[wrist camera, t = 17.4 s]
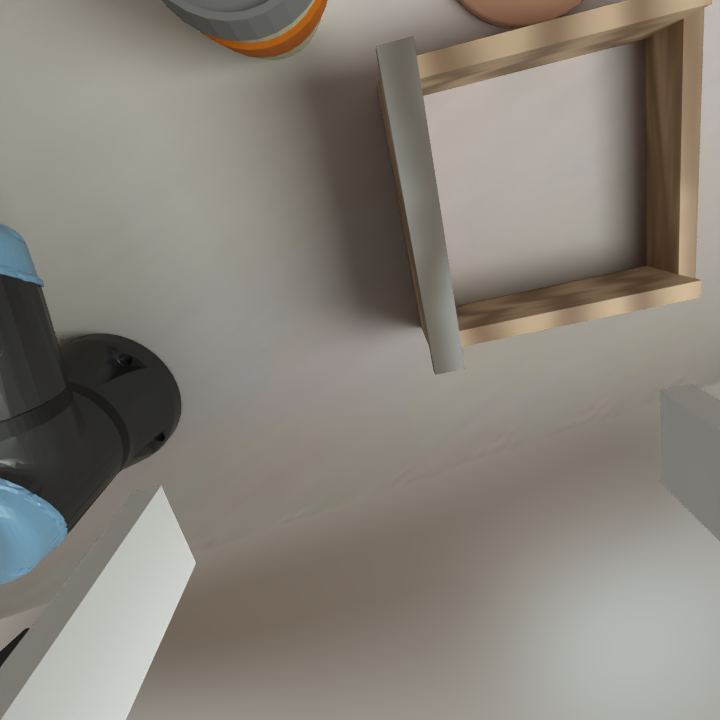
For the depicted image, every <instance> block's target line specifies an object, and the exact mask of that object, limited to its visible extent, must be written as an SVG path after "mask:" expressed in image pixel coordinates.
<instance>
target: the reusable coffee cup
mask: <svg viewBox="0 0 720 720" xmlns="http://www.w3.org/2000/svg"><path fill="white" fill-rule="evenodd" d="M163 2H164V3H165V4H166V6H167V7H168V8H170V9H171V10H172V11H173V12H174V13H175V14H176V15H177V16H178V17H180V18H181V19H182V20H183V21H184V22H186V23H187V24H189V25H191V26H192V27H194V28H196V29H197V30H199V31H200V32H201V33H203V34H204V35H206V36H208V37H209V38H211V39H213V40H214V41H216V42H218V43H220V44H222V45H224V46H226V47H228V48H230V49H231V50H233V51H236V52H238V53H241V54H244V55H247V56H251V57H260V58H263V59H271V60H276V59H284V58H287V57H290V56H292V55H294V54H296V53H297V52H299V51H300V50H302V49H303V48H304V47H305V46H306V45H307V44H308V43H309V41H310V40H311V38H312V37H313V35H314V34H315V32H316V29H317V27H318V25H319V22H320V19H321V16H322V14H323V12H324V10H325V7H326V4H327V0H163Z"/></svg>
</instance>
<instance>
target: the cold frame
mask: <svg viewBox="0 0 720 720" xmlns="http://www.w3.org/2000/svg"><path fill="white" fill-rule="evenodd" d="M710 4H712V0H626V1H622V2H618V3H615V4H611V5H607V6H603V7H599V8H596V9H592V10H588V11H584V12H580V13H576V14H573V15H569V16H565V17H561V18H557V19H554V20H550V21H546V22H542V23H538V24H535V25H531V26H527V27H523V28H519V29H516V30H512V31H508V32H504V33H500V34H496V35H493V36H489V37H485V38H481V39H477V40H474V41H470V42H466V43H462V44H458V45H455V46H451V47H447V48H443V49H439V50H435V51H432V52H428V53H424V54H420V55H416V48H415V42H414V36H413V37H409V38H406V39H402V40H398V41H394V42H390V43H387V44H383V45H379V46H376V55H377V60H378V66H379V71H380V72H379V79H378V86H377V89H378V95H379V100H380V106H381V111H382V116H383V122H384V127H385V133H386V138H387V143H388V149H389V154H390V160H391V165H392V171H393V176H394V181H395V187H396V192H397V198H398V203H399V209H400V214H401V219H402V225H403V230H404V236H405V241H406V247H407V252H408V257H409V263H410V268H411V274H412V279H413V285H414V290H415V295H416V301H417V306H418V312H419V317H420V322H421V328H422V330H423V333H424V335H425V337H426V340H427V342H428V344H429V348H430V353H431V359H432V364H433V370H434V373H435V375H437V374H442V373H446V372H451V371H456V370H461V369H465V365H464V359H463V352H462V346H467V345H472V344H477V343H482V342H487V341H491V340H496V339H501V338H506V337H511V336H516V335H521V334H525V333H530V332H535V331H540V330H545V329H550V328H554V327H559V326H564V325H569V324H574V323H579V322H583V321H588V320H593V319H598V318H603V317H608V316H612V315H617V314H622V313H627V312H632V311H637V310H642V309H646V308H651V307H656V306H661V305H666V304H671V303H675V302H680V301H685V300H690V299H695V298H700V297H701V280H698V279H695V273H696V243H697V213H698V183H699V153H700V123H701V93H702V63H703V33H704V7H706V6H708V5H710ZM643 39H646V241H647V266H643V267H639V268H634V269H629V270H625V271H620V272H615V273H610V274H606V275H601V276H596V277H592V278H587V279H582V280H578V281H573V282H568V283H564V284H559V285H554V286H550V287H545V288H540V289H536V290H531V291H526V292H522V293H517V294H512V295H508V296H503V297H498V298H494V299H489V300H484V301H480V302H475V303H470V304H466V305H461V306H456V307H455V301H454V294H453V288H452V281H451V275H450V268H449V262H448V255H447V249H446V243H445V236H444V230H443V223H442V217H441V210H440V204H439V197H438V191H437V184H436V178H435V171H434V165H433V158H432V152H431V145H430V139H429V133H428V126H427V120H426V113H425V107H424V100H423V95H427V94H431V93H435V92H439V91H443V90H447V89H451V88H455V87H459V86H463V85H467V84H471V83H475V82H478V81H482V80H486V79H490V78H494V77H498V76H502V75H506V74H510V73H514V72H518V71H522V70H526V69H529V68H533V67H537V66H541V65H545V64H549V63H553V62H557V61H561V60H565V59H569V58H573V57H577V56H581V55H584V54H588V53H592V52H596V51H600V50H604V49H608V48H612V47H616V46H620V45H624V44H628V43H632V42H636V41H639V40H643Z"/></svg>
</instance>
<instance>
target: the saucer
mask: <svg viewBox="0 0 720 720" xmlns="http://www.w3.org/2000/svg"><path fill="white" fill-rule="evenodd" d="M458 1H459V2H460V3H461V4H462V5H463V6H464V7H465V8H466V9H467V10H468V11H469V12H471V13H472V14H473V15H475V16H476V17H478V18H479V19H481V20H483V21H486V22H488V23H490V24H493V25H496V26H500V27H504V28H512V29H519V28H523V27H527V26H531V25H535V24H538V23H542V22H546V21H550V20H554V19H557V18H559V17H561V16H563V15H564V14H566V13H567V12H569V11H570V10H572V9H573V8H575V7H576V6H577V5H578V4H579V3H581V2H582V1H583V0H458Z"/></svg>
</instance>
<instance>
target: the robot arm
mask: <svg viewBox="0 0 720 720" xmlns="http://www.w3.org/2000/svg"><path fill="white" fill-rule="evenodd" d="M42 287H44V284H43V281H42V279H40V278H38V276H37V273H36V270H35V267H34V264H33V262H32V259H31V256H30V253H29V250H28V247H27V245H26V243H25V241H24V240H23V238H22V237H21V236H20V235H19V234H18V233H17V232H16V231H14V230H13V229H11V228H10V227H7V226H5V225H3V224H0V585H1V584H5V583H8V582H11V581H13V580H16V579H18V578H20V577H22V576H23V575H25V574H26V573H28V572H29V571H31V570H32V569H33V568H34V567H35V566H36V565H37V564H38V563H39V562H40V561H41V560H42V559H43V558H44V557H45V556H46V555H47V554H48V553H49V552H50V551H51V550H52V549H54V548H55V547H57V546H58V545H60V543H61V542H62V541H63V540H64V539H65V537H66V535H67V534H68V533H69V532H70V531H71V529H72V528H73V527H74V526H75V525H76V523H77V522H78V521H79V520H80V519H81V517H82V516H83V515H84V514H85V512H86V511H87V510H88V509H89V508H90V506H91V505H92V504H93V503H94V502H95V500H96V499H97V498H98V497H99V496H100V494H101V493H102V492H103V491H104V490H105V488H106V487H107V486H108V485H109V483H110V482H111V481H112V480H113V479H114V477H115V476H116V475H117V474H118V473H119V472H120V471H121V470H123V469H125V468H127V467H129V466H131V465H134V464H136V463H138V462H140V461H142V460H144V459H146V458H148V457H150V456H151V455H153V454H154V453H155V452H157V451H158V450H159V449H160V448H161V447H162V446H163V445H164V444H165V443H166V441H167V440H168V439H169V438H170V436H171V435H172V434H173V432H174V431H175V429H176V427H177V425H178V422H179V419H180V415H181V397H180V392H179V389H178V386H177V383H176V381H175V379H174V377H173V375H172V374H171V372H170V371H169V369H168V368H167V366H166V365H165V364H164V363H163V362H162V361H161V360H160V359H159V358H158V357H157V356H156V355H155V354H154V353H152V352H151V351H150V350H148V349H147V348H145V347H144V346H142V345H140V344H138V343H136V342H134V341H132V340H129V339H127V338H124V337H120V336H115V335H108V334H94V335H87V336H83V337H80V338H77V339H75V340H73V341H71V342H69V343H67V344H65V345H63V346H61V347H60V348H59V345H58V341H57V338H56V335H55V331H54V328H53V324H52V321H51V318H50V314H49V311H48V308H47V304H46V301H45V298H44V294H43V291H42ZM660 483H661V484H662V485H663V486H664V487H665V488H667V490H668V491H669V492H670V493H671V494H672V495H673V496H674V497H675V498H676V499H678V501H679V502H680V503H681V504H682V505H684V506H685V507H686V508H687V509H688V510H689V511H690V512H691V513H692V514H693V515H694V516H695V517H696V518H697V519H698V520H699V521H700V522H701V523H702V524H703V525H704V526H705V527H706V528H707V529H708V530H709V531H710V532H711V533H712V534H713V535H714V536H715V537H716V538H717V539H718V540H719V541H720V400H719V399H717V398H715V397H714V396H712V395H710V394H709V393H707V392H705V391H703V390H702V389H700V388H698V387H697V386H695V385H693V384H689V385H684V386H679V387H674V388H669V389H663V390H660ZM195 564H196V562H195V560H194V558H193V556H192V553H191V551H190V549H189V547H188V544H187V542H186V540H185V538H184V536H183V533H182V531H181V529H180V527H179V524H178V522H177V520H176V518H175V516H174V513H173V511H172V509H171V507H170V504H169V502H168V500H167V498H166V496H165V493H164V491H163V489H162V487H161V486H157V487H152V488H147V489H141V490H136V491H134V492H133V494H132V495H131V496H130V498H129V499H128V500H127V502H126V503H125V504H124V506H123V507H122V508H121V509H120V511H119V512H118V513H117V515H116V516H115V517H114V519H113V520H112V521H111V523H110V524H109V525H108V527H107V528H106V529H105V530H104V532H103V533H102V534H101V536H100V537H99V538H98V540H97V541H96V542H95V544H94V545H93V546H92V548H91V549H90V550H89V551H88V553H87V554H86V555H85V557H84V558H83V559H82V561H81V562H80V563H79V565H78V566H77V567H76V569H75V570H74V571H73V573H72V574H71V575H70V576H69V578H68V579H67V580H66V582H65V583H64V584H63V586H62V587H61V588H60V590H59V591H58V592H57V594H56V595H55V596H54V597H53V599H52V600H51V601H50V603H49V604H48V605H47V607H46V608H45V609H44V611H43V612H42V613H41V615H40V616H39V617H38V618H37V620H36V621H35V622H34V624H33V625H32V627H31V628H27V629H25V630H24V631H22V632H21V633H20V634H19V635H18V636H17V637H16V638H15V639H14V640H12V641H11V642H10V643H9V644H8V645H7V646H6V647H5V648H4V649H3V650H1V651H0V720H126V718H127V716H128V713H129V711H130V709H131V707H132V704H133V702H134V700H135V698H136V696H137V693H138V691H139V689H140V687H141V684H142V682H143V680H144V678H145V676H146V673H147V671H148V669H149V667H150V664H151V662H152V660H153V658H154V655H155V653H156V651H157V649H158V647H159V644H160V642H161V640H162V638H163V635H164V633H165V631H166V629H167V626H168V624H169V622H170V620H171V618H172V615H173V613H174V611H175V609H176V607H177V604H178V602H179V600H180V597H181V595H182V593H183V591H184V589H185V586H186V584H187V582H188V579H189V578H190V575H191V573H192V571H193V568H194V566H195Z"/></svg>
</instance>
